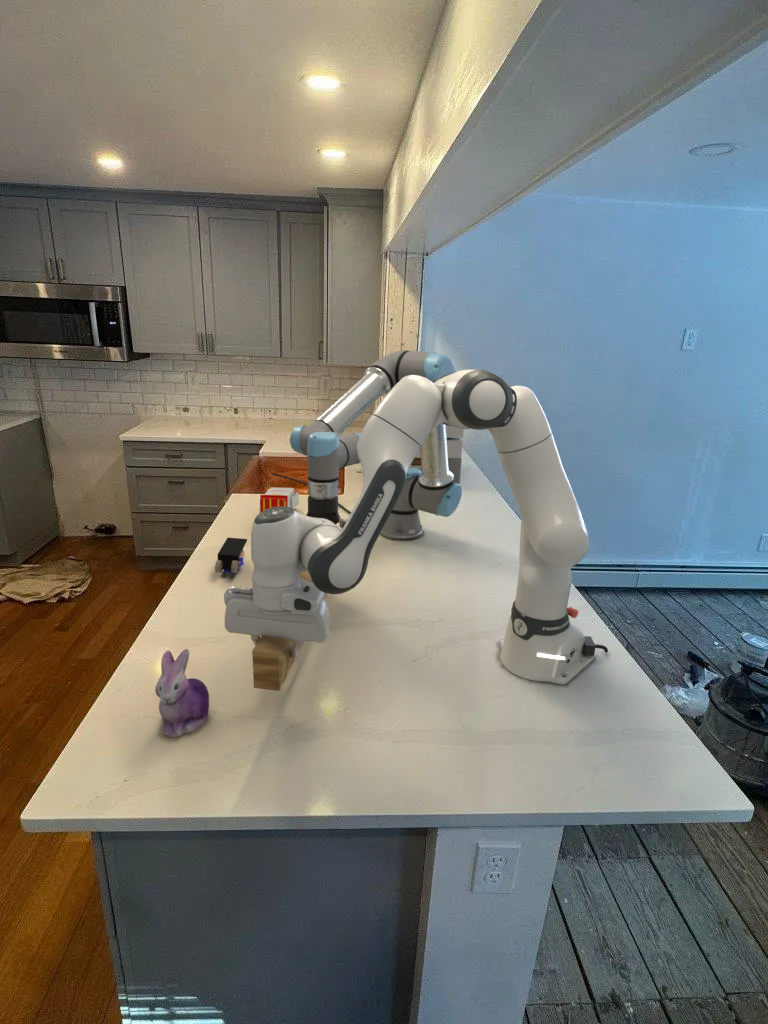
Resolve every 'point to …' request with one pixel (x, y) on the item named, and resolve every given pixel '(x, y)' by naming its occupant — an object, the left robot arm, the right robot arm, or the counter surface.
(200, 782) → the counter surface
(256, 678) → the bar
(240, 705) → the counter surface
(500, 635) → the counter surface
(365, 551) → the right robot arm
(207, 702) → the figurine
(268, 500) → the toy
